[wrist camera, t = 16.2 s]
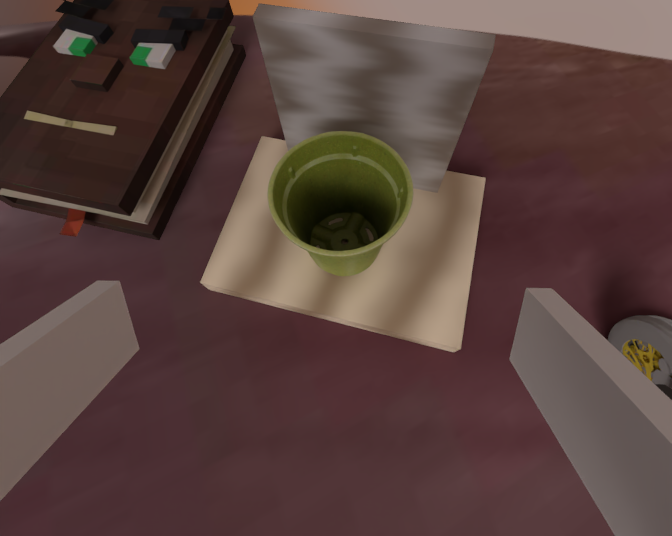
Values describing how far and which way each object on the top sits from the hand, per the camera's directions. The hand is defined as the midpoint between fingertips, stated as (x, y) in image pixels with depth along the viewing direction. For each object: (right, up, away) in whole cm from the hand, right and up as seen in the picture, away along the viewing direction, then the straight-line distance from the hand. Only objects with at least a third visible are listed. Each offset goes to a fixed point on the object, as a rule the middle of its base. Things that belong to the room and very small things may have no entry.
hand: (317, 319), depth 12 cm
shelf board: (+2, +5, +21) cm, 22 cm away
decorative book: (-21, +17, +28) cm, 40 cm away
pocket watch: (+25, -6, +17) cm, 30 cm away
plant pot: (+1, +4, +19) cm, 20 cm away
